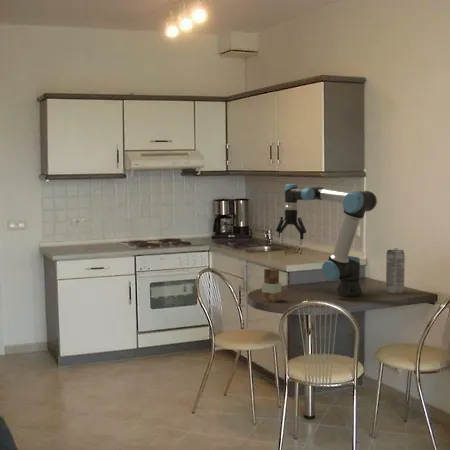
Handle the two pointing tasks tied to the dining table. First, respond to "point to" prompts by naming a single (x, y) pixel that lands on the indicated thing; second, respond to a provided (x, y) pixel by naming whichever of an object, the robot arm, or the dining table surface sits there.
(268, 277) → the block
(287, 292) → the dining table surface
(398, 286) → the juice carton
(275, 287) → the tower top
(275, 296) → the tower base
